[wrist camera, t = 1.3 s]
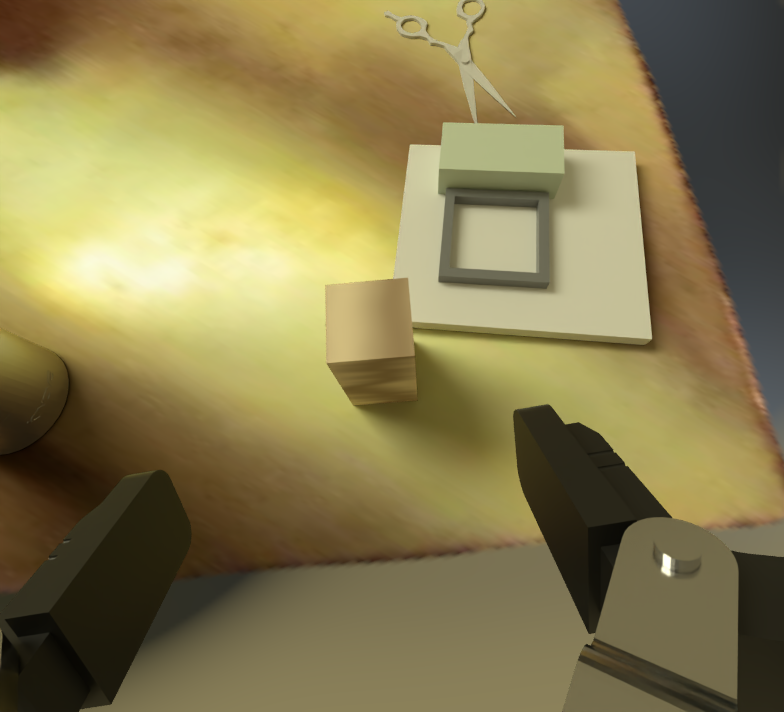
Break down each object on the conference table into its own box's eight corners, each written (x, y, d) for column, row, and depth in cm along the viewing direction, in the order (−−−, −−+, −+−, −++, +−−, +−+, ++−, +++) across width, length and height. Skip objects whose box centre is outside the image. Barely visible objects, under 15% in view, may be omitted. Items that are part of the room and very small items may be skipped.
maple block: (353, 405, 34) (326, 363, 25) (351, 345, 36) (325, 285, 27) (417, 400, 34) (414, 355, 25) (412, 340, 36) (408, 277, 26)
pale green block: (437, 193, 39) (438, 168, 36) (441, 149, 41) (443, 122, 38) (554, 198, 38) (564, 173, 35) (553, 153, 40) (563, 125, 37)
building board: (389, 325, 36) (387, 314, 34) (410, 154, 42) (409, 135, 40) (644, 345, 34) (658, 333, 32) (628, 161, 40) (639, 142, 38)
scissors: (473, -15, 50) (550, 106, 43) (472, -7, 51) (548, 113, 43) (383, 11, 49) (446, 138, 42) (384, 19, 50) (446, 145, 43)
